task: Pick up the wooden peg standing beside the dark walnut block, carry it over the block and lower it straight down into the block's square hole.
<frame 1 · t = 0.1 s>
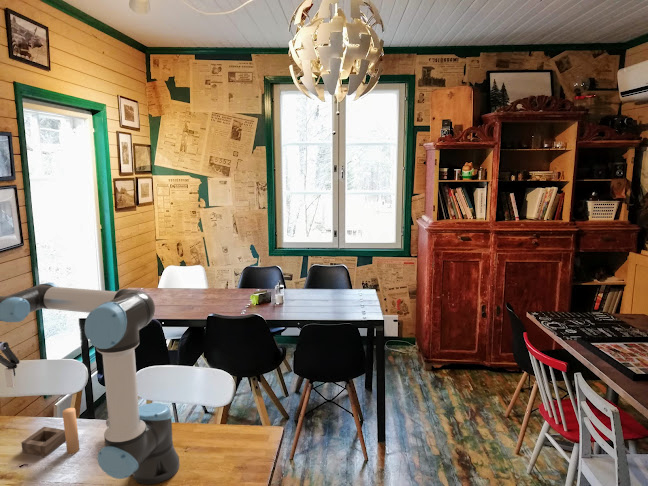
socket block: (45, 445, 168), on the table
peg: (73, 450, 165), on the table
teacup: (124, 438, 173), on the table
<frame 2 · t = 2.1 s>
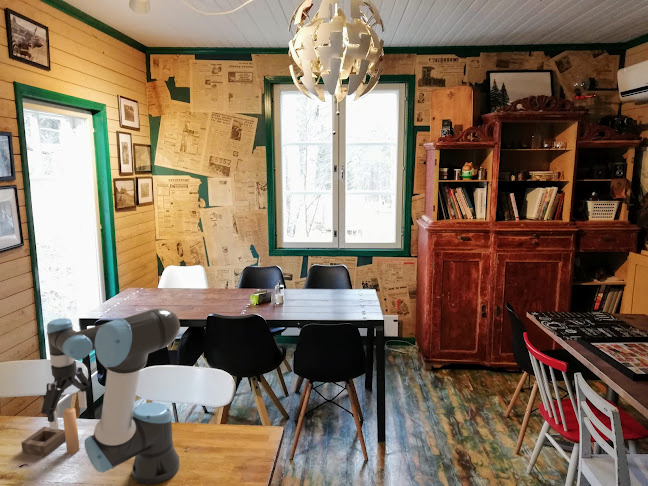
hand: (69, 417, 163), 13 cm above the table, tool pointing down, fingers open, 13 cm apart
nothing on the table moved.
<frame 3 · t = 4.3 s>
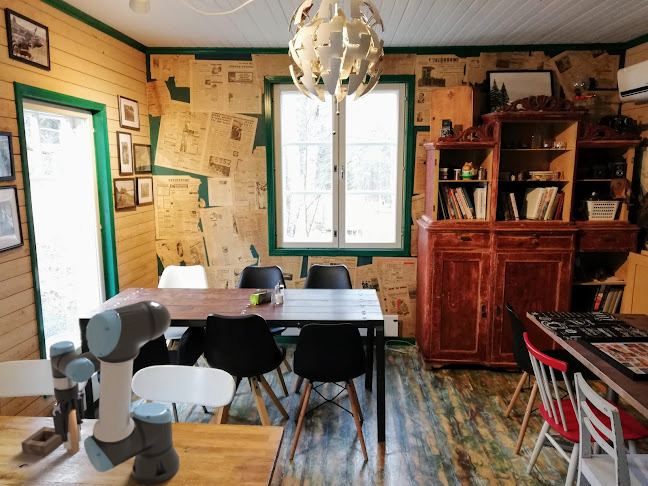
hand: (72, 444, 165), 3 cm above the table, tool pointing down, fingers closed on peg, 4 cm apart
peg: (73, 450, 165), on the table, touching gripper
everything else where it was.
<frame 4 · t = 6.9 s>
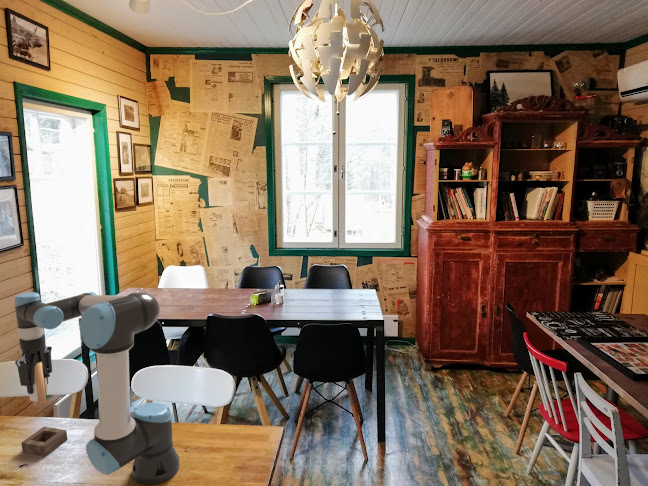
hand: (39, 397, 164), 20 cm above the table, tool pointing down, fingers closed on peg, 4 cm apart
peg: (40, 403, 165), point 17 cm above the table, touching gripper
everything else where it was.
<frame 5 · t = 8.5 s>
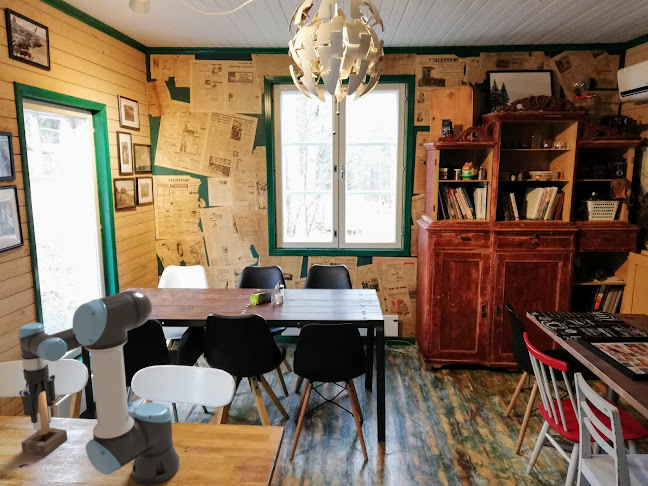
hand: (42, 425, 167), 8 cm above the table, tool pointing down, fingers closed on peg, 4 cm apart
peg: (43, 431, 167), point 6 cm above the table, touching gripper
everything else where it was.
when the fingers open (6 cm above the table, at t = 9.6 s): peg drops 1 cm, resting in socket block.
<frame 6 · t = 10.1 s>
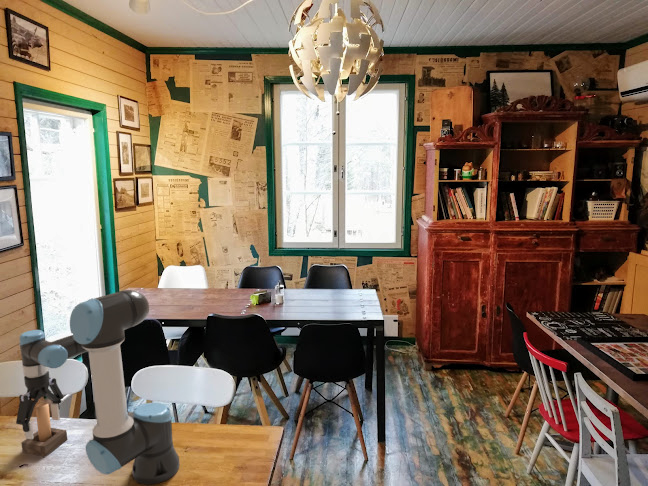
hand: (43, 428, 167), 7 cm above the table, tool pointing down, fingers open, 11 cm apart
peg: (46, 445, 168), resting in socket block
everything else where it was.
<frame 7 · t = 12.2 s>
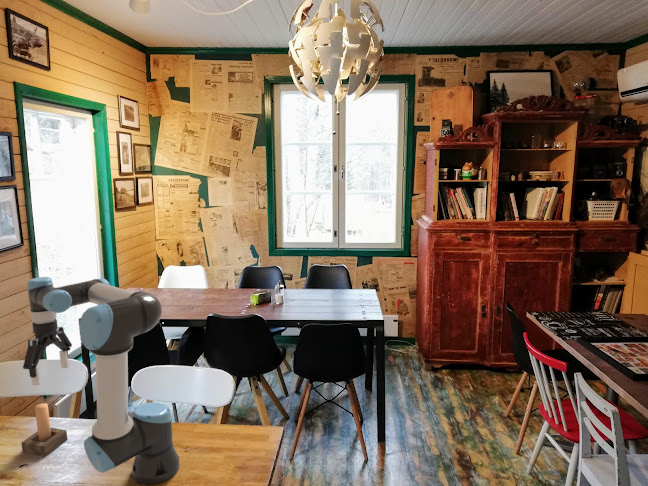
hand: (51, 375, 166), 26 cm above the table, tool pointing down, fingers open, 13 cm apart
nothing on the table moved.
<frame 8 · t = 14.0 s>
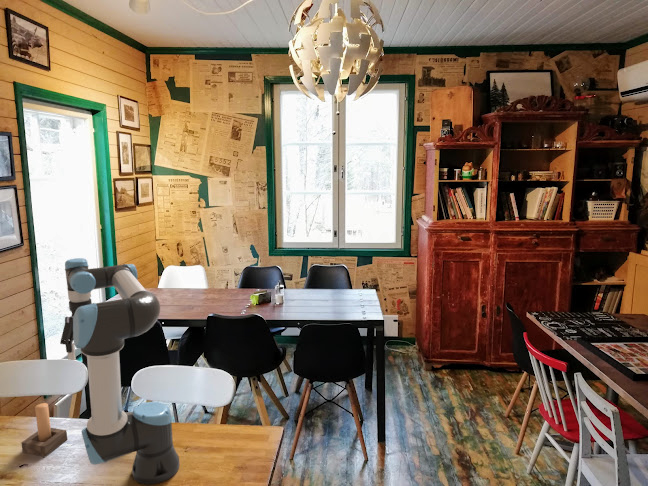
hand: (85, 352, 176), 31 cm above the table, tool pointing down, fingers open, 13 cm apart
nothing on the table moved.
at the end: peg 0.2 cm off-centre on the socket block, point 0.0 cm above the socket block's base; peg tilted 1°; the gripper is holding nothing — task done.
